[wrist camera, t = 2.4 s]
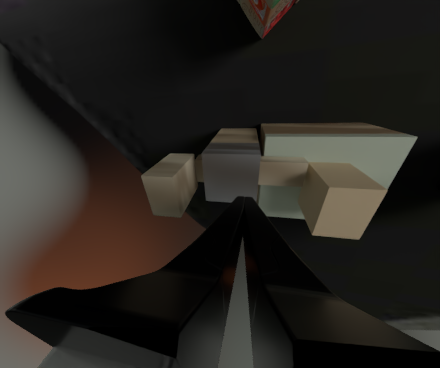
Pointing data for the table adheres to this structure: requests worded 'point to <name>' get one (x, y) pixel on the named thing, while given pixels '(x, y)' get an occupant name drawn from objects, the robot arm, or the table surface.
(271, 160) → the wooden mallet
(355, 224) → the plate with block handle
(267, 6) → the stack of blocks
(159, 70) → the table surface
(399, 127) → the table surface
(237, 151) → the toolbox
